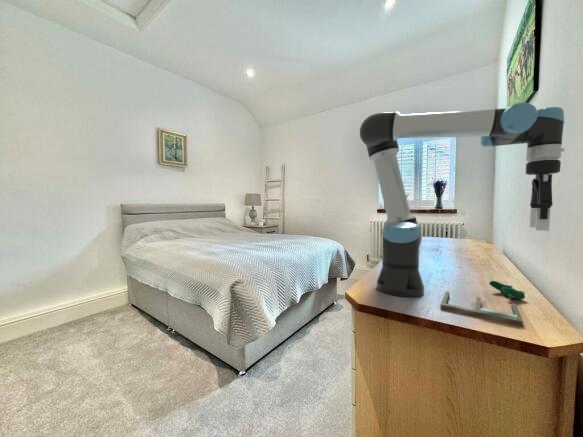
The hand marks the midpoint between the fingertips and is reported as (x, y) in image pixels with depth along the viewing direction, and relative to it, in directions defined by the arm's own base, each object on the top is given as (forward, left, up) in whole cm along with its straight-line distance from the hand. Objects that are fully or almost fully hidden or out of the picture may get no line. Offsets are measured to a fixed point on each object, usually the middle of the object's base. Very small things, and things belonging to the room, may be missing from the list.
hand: (538, 229), depth 77 cm
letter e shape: (-14, -21, -22) cm, 34 cm away
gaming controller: (-10, -5, -20) cm, 23 cm away
